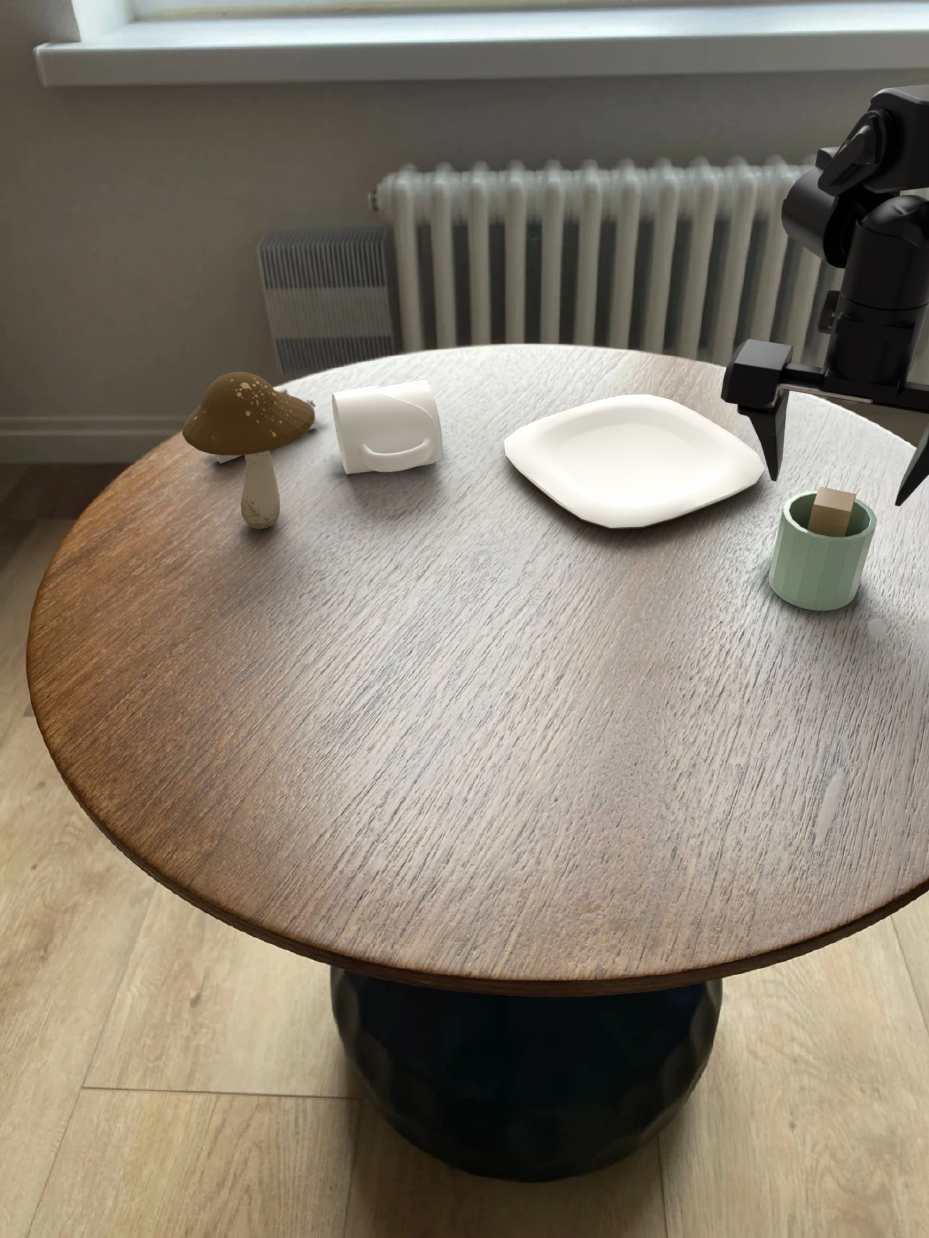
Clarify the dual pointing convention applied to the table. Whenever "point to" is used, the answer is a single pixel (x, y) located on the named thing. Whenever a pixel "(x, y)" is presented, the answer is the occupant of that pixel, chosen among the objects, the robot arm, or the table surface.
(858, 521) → the cup
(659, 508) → the plate
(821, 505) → the stick
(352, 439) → the mug
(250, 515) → the mushroom
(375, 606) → the table surface
